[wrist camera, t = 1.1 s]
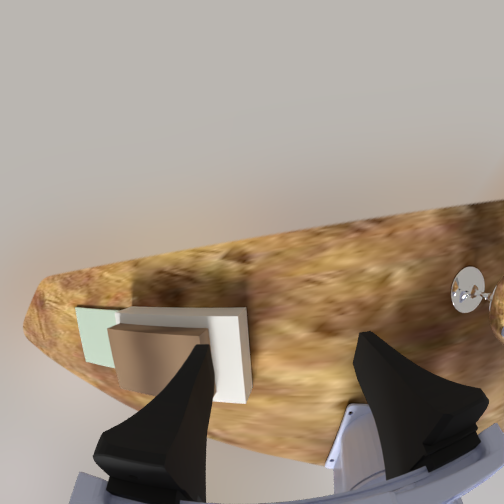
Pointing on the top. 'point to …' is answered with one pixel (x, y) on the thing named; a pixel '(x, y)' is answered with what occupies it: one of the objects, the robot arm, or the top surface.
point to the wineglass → (479, 297)
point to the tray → (221, 342)
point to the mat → (96, 334)
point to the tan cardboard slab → (151, 354)
